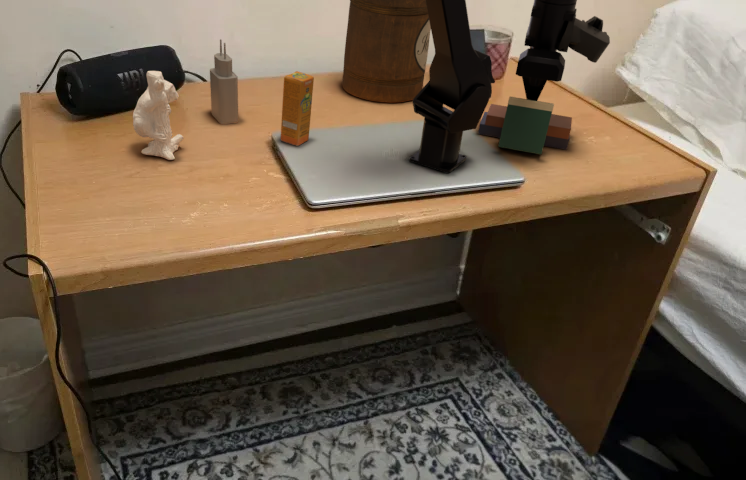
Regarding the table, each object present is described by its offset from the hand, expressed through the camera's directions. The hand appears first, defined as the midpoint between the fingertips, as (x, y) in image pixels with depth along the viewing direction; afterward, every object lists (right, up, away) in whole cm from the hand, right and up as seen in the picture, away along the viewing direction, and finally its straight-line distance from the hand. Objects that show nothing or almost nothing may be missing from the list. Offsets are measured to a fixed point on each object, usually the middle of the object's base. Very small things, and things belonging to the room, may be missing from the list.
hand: (531, 105), depth 102 cm
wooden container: (-22, +8, +20) cm, 31 cm away
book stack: (0, -4, +5) cm, 7 cm away
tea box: (-1, -7, +1) cm, 7 cm away
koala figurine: (-55, -9, -8) cm, 56 cm away
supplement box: (-36, -6, -2) cm, 37 cm away
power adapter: (-48, -1, +4) cm, 48 cm away
